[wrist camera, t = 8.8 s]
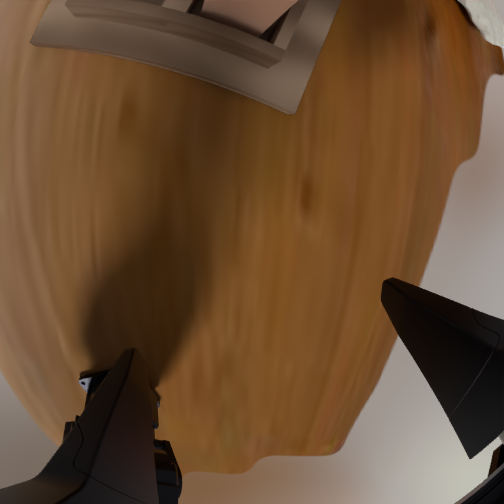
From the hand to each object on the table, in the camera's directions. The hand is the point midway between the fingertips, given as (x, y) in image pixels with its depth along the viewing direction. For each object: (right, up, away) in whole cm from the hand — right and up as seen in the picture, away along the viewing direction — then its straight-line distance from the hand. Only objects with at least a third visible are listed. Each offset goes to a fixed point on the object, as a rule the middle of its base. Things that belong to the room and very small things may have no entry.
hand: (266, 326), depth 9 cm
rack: (-5, +20, +4) cm, 21 cm away
